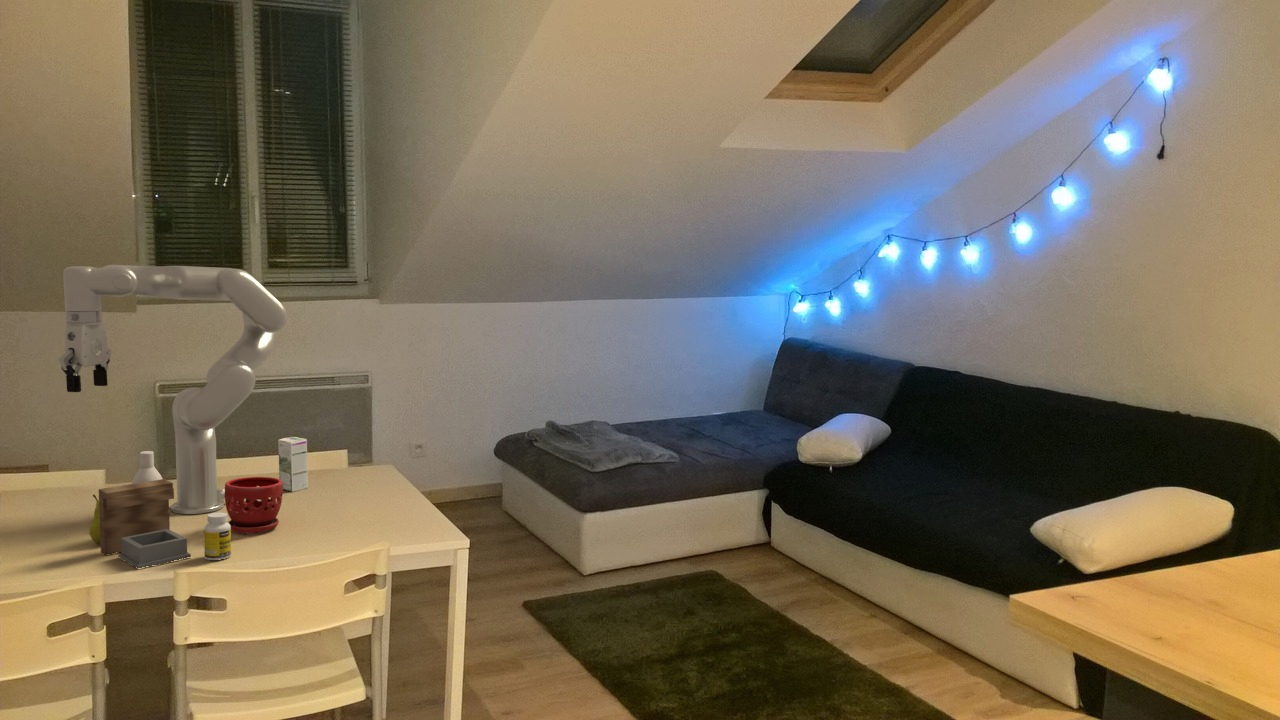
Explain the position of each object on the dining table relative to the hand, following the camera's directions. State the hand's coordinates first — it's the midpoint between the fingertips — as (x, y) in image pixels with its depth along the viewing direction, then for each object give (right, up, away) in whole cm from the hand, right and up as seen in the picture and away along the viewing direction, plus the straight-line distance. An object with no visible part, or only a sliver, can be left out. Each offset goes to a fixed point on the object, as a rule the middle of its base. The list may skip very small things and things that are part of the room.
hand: (87, 388), depth 235 cm
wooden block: (+20, -36, -15) cm, 44 cm away
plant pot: (+39, -35, +3) cm, 52 cm away
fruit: (+10, -35, -12) cm, 39 cm away
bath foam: (+17, -35, -4) cm, 39 cm away
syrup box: (+35, -30, +41) cm, 62 cm away
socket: (+26, -37, -21) cm, 50 cm away
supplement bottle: (+40, -37, -19) cm, 58 cm away
